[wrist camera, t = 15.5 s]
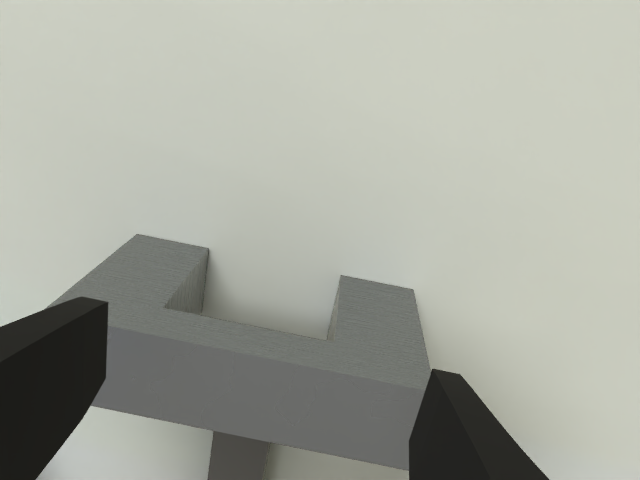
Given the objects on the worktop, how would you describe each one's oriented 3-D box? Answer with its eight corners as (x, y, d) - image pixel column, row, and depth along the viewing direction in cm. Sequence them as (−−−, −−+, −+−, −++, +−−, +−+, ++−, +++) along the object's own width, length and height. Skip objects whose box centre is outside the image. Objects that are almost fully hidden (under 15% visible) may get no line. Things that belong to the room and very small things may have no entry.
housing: (395, 351, 21) (409, 470, 15) (133, 297, 21) (43, 395, 15) (413, 289, 20) (434, 392, 14) (136, 234, 20) (41, 312, 14)
